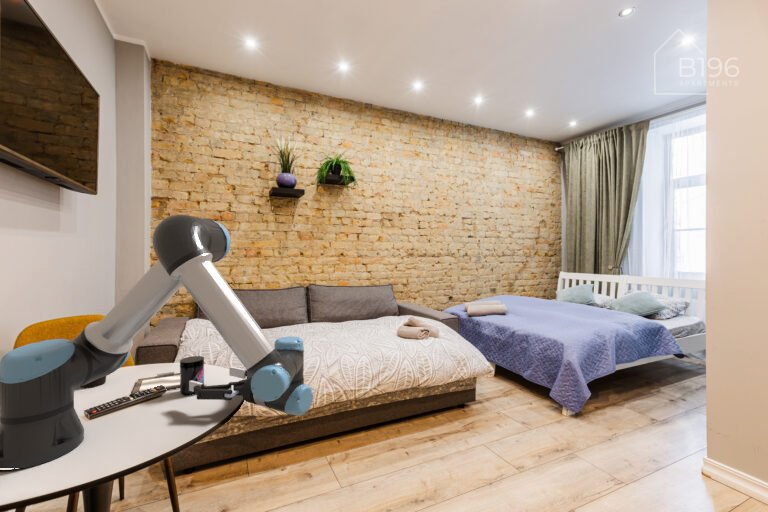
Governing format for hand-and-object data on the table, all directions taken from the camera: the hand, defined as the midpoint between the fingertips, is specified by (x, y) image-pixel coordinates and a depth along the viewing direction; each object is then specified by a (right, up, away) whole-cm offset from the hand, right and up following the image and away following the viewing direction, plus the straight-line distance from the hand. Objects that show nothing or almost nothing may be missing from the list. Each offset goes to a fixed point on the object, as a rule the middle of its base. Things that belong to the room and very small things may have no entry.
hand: (211, 377), depth 104 cm
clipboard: (-21, -6, +10) cm, 24 cm away
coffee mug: (-46, -6, +10) cm, 48 cm away
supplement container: (-8, -6, +4) cm, 11 cm away
